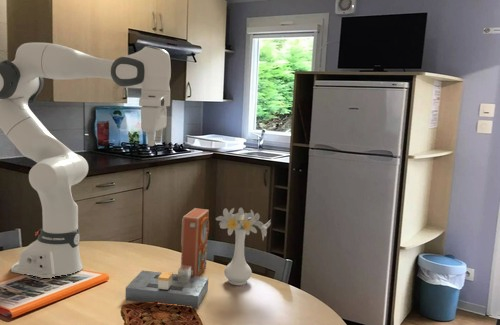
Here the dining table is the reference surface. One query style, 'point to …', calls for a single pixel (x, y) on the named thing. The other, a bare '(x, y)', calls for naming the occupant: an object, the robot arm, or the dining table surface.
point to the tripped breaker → (165, 280)
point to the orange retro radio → (195, 240)
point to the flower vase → (240, 242)
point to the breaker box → (180, 292)
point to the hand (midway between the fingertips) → (154, 144)
